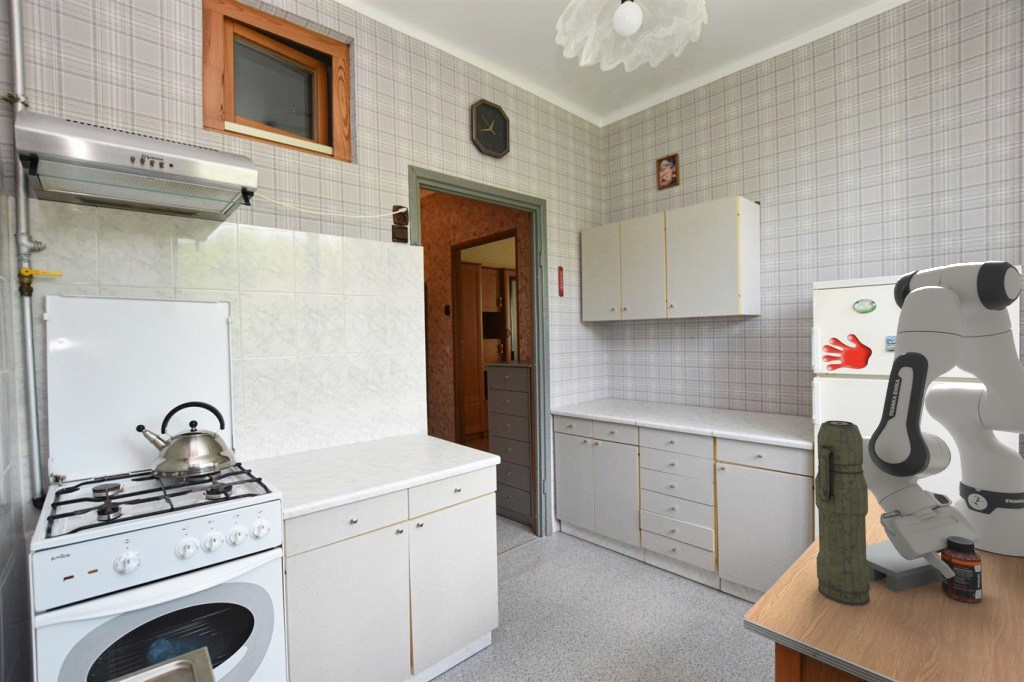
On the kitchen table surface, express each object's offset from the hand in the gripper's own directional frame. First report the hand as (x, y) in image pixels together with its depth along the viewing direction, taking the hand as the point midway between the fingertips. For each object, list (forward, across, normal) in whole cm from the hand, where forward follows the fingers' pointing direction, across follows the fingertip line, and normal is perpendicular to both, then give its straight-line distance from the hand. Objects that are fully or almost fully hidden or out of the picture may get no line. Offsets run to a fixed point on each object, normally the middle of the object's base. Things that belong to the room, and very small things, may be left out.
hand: (965, 573), depth 95 cm
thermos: (-3, -20, +10) cm, 23 cm away
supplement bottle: (+3, 0, +4) cm, 5 cm away
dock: (-5, -2, +12) cm, 13 cm away
